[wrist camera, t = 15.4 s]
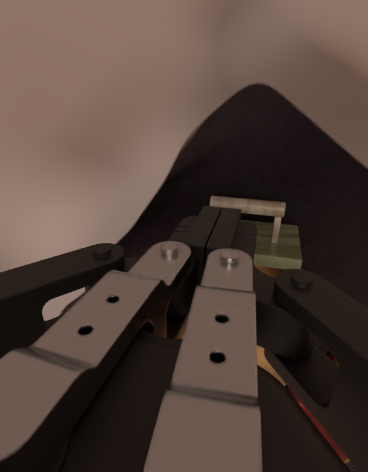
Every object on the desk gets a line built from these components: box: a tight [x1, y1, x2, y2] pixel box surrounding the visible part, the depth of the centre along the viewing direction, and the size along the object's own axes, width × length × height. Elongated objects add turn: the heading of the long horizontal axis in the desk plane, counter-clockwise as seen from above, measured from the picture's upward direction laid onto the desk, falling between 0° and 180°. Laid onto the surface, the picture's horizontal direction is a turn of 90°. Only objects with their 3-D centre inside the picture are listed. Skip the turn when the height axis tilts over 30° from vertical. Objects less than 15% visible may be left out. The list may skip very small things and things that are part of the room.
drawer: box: [210, 196, 302, 277], centre depth 35 cm, size 18×11×8 cm, turn 0°
